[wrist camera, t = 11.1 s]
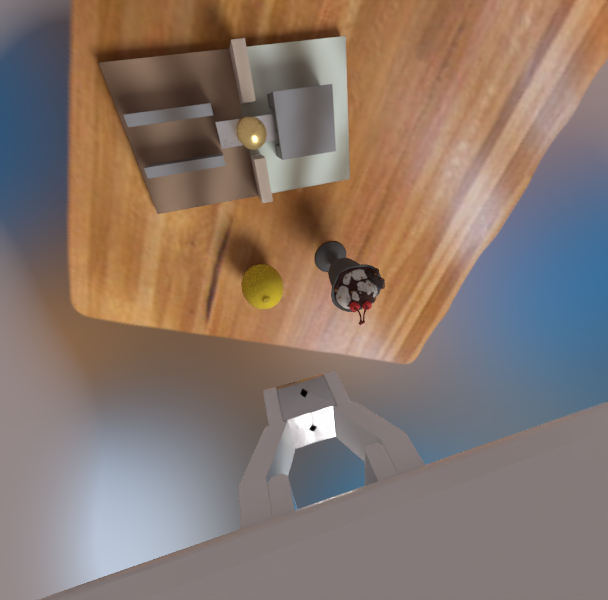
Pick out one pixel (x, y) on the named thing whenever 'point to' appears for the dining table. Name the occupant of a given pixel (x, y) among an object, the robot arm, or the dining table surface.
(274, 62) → the lock board
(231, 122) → the bolt
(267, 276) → the lemon
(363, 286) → the sundae
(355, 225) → the dining table surface
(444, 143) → the dining table surface
